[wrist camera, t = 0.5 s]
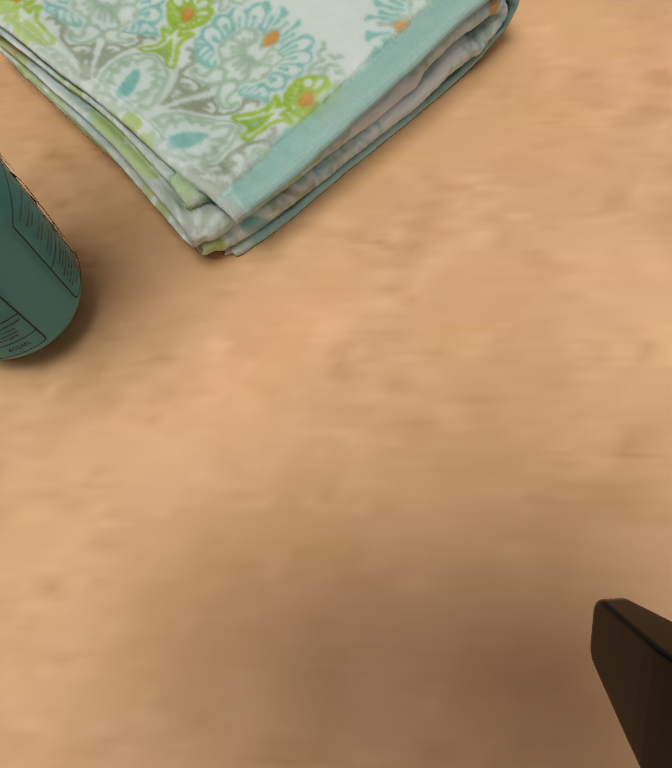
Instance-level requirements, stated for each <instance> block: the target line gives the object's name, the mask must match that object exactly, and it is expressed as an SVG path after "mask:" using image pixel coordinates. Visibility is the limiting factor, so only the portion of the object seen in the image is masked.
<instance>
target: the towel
mask: <svg viewBox="0 0 672 768" xmlns="http://www.w3.org/2000/svg"><path fill="white" fill-rule="evenodd" d="M518 4H519V0H0V52H1V53H2V54H3V55H4V56H5V57H6V58H7V59H8V60H9V61H11V62H12V63H13V64H14V65H15V66H16V67H17V69H18V71H19V72H20V73H21V74H22V75H23V76H24V77H25V78H26V79H28V80H30V81H31V82H32V83H33V85H34V86H35V87H36V88H37V89H39V90H40V91H41V92H42V93H43V94H44V95H45V96H46V97H47V98H48V99H50V100H51V101H52V102H53V103H54V104H55V105H56V106H57V107H58V108H59V109H60V110H61V111H62V112H63V113H64V114H65V115H66V116H67V117H68V118H69V119H70V120H71V121H72V122H73V123H74V124H75V125H76V126H78V127H79V128H80V129H81V130H82V131H83V132H84V133H85V134H86V135H87V136H88V137H89V138H90V139H91V140H92V141H93V142H94V143H95V144H96V145H98V146H99V147H100V148H101V149H102V150H103V151H104V152H105V153H106V154H107V155H108V156H109V157H110V158H111V159H113V160H114V161H115V162H117V163H118V164H119V165H120V166H121V167H122V169H123V170H124V171H125V172H126V173H127V174H128V175H129V177H130V178H131V179H132V180H133V181H134V183H135V184H136V185H137V186H138V187H139V188H140V189H141V190H142V192H143V193H144V194H145V195H146V196H147V198H148V199H149V200H150V201H151V203H152V204H153V205H154V206H155V207H156V208H157V209H158V211H159V212H160V213H161V214H162V215H163V216H164V217H165V219H166V220H167V221H168V222H169V223H170V224H171V226H172V227H173V228H174V229H175V230H176V231H177V232H178V233H179V235H180V236H181V237H182V238H183V240H185V241H186V242H187V243H188V244H189V245H190V246H191V247H197V249H198V251H199V252H200V253H201V254H202V255H207V254H209V253H211V252H214V251H223V250H224V251H225V252H224V255H225V256H226V255H229V254H231V253H232V254H234V255H235V256H239V255H241V254H243V253H245V252H246V251H248V250H249V249H250V248H252V247H253V246H255V245H256V244H258V243H259V242H261V241H262V240H264V239H265V238H267V237H268V236H269V235H271V234H272V233H274V232H275V231H276V230H278V229H279V228H280V227H282V226H283V225H284V224H285V223H287V222H288V221H289V220H291V219H292V218H293V217H294V216H296V215H297V214H298V213H299V212H300V211H302V210H303V209H304V208H305V207H306V206H307V205H308V204H310V203H311V202H312V201H313V200H314V199H315V198H317V197H318V196H319V195H320V194H321V193H323V192H324V191H325V190H326V189H328V188H329V187H330V186H331V185H332V184H333V183H335V182H336V181H337V180H338V179H339V178H340V177H341V176H342V175H343V174H345V173H346V172H347V171H349V170H350V169H351V168H352V167H354V166H355V165H356V164H357V163H359V162H360V161H361V160H363V159H364V158H365V157H366V156H368V155H369V154H370V153H371V152H373V151H374V150H375V149H376V148H377V147H379V146H380V145H381V144H382V143H383V142H385V141H386V140H387V139H388V138H390V137H391V136H392V135H394V134H395V133H396V132H397V131H398V130H400V129H401V128H402V127H404V126H405V125H406V124H407V123H409V122H410V121H411V120H412V119H413V118H414V117H415V116H417V115H418V114H419V113H420V112H421V111H422V110H423V109H425V108H426V107H427V106H428V105H430V104H431V103H432V102H434V101H435V100H436V99H437V98H438V97H440V96H441V95H442V94H443V93H444V92H445V91H446V90H448V89H449V88H450V87H451V86H452V85H453V84H454V83H455V82H456V81H458V80H459V79H460V78H461V77H462V76H463V75H464V74H465V73H466V72H467V71H468V70H469V69H470V68H471V67H472V66H473V65H474V64H475V63H476V62H477V61H478V60H479V59H480V58H481V57H482V56H483V55H484V54H485V52H486V51H487V50H488V49H489V47H490V46H491V45H492V44H493V43H494V42H495V41H496V39H497V38H498V37H499V36H500V35H501V34H502V33H503V32H504V30H505V29H506V27H507V26H508V25H509V23H510V21H511V19H512V17H513V15H514V13H515V11H516V9H517V7H518Z"/></svg>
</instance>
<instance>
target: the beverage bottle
mask: <svg viewBox="0 0 672 768" xmlns="http://www.w3.org/2000/svg"><path fill="white" fill-rule="evenodd" d="M0 154H1V153H0ZM0 156H1V155H0ZM0 159H1V158H0ZM2 160H3V159H1V160H0V360H8V359H14V358H18V357H22V356H25V355H28V354H30V353H33V352H35V351H37V350H39V349H41V348H43V347H44V346H46V345H47V344H49V343H50V342H52V341H53V340H54V339H55V338H56V337H58V336H59V335H60V334H61V333H62V332H63V331H64V329H65V328H66V327H67V325H68V324H69V323H70V321H71V320H72V318H73V316H74V314H75V312H76V310H77V307H78V304H79V301H80V294H81V270H80V275H79V270H78V266H77V263H76V261H75V258H74V256H73V254H74V253H73V254H72V253H71V251H72V250H71V249H70V250H71V251H70V250H69V248H70V247H69V246H68V245H66V244H65V243H66V242H65V241H64V240H62V239H63V238H62V237H61V236H59V235H58V234H59V233H58V232H57V230H59V228H58V227H57V226H56V227H57V228H58V229H57V228H56V229H57V230H56V229H55V228H54V227H53V226H54V225H52V224H51V223H50V222H48V221H49V220H48V219H47V218H45V217H46V216H45V215H44V214H42V213H43V212H42V211H41V210H40V209H38V208H39V207H38V206H37V205H35V204H37V203H38V204H39V202H38V201H37V200H35V199H36V198H35V197H34V196H33V197H34V198H35V199H33V198H31V197H32V196H31V195H30V194H29V193H27V192H26V190H25V189H24V188H23V187H21V186H22V185H21V184H20V183H19V184H20V185H21V186H20V185H19V184H18V182H19V181H18V180H17V179H16V178H15V177H16V176H15V175H14V174H13V173H12V172H11V171H10V170H9V168H8V167H7V166H6V165H5V166H6V167H7V168H8V169H7V168H6V167H5V166H4V164H5V163H4V162H3V161H2ZM1 161H2V162H3V163H4V164H3V163H2V162H1ZM5 162H6V161H5ZM7 164H8V163H7ZM11 168H12V167H11ZM12 169H13V168H12ZM8 170H9V171H10V172H9V171H8ZM17 178H18V177H17ZM18 179H19V178H18ZM19 180H20V179H19ZM17 181H18V182H17ZM23 184H24V183H23ZM24 185H25V184H24ZM25 186H26V185H25ZM22 188H23V189H24V190H25V191H24V190H23V189H22ZM27 189H28V188H27ZM28 190H29V189H28ZM29 191H30V190H29ZM25 192H26V193H27V194H28V195H30V196H31V197H30V196H28V195H27V194H26V193H25ZM30 193H31V192H30ZM31 194H32V193H31ZM32 195H33V194H32ZM29 197H30V198H31V199H33V200H34V201H35V202H34V201H33V200H31V199H30V198H29ZM32 201H33V202H34V203H35V204H34V203H33V202H32ZM36 202H37V203H36ZM39 205H40V204H39ZM36 206H37V207H38V208H37V207H36ZM40 206H41V205H40ZM41 207H42V206H41ZM42 208H43V207H42ZM39 210H40V211H41V212H42V213H41V212H40V211H39ZM43 210H44V209H43ZM44 211H45V210H44ZM45 212H46V211H45ZM46 214H47V213H46ZM43 215H44V216H45V217H44V216H43ZM47 215H48V214H47ZM48 216H49V215H48ZM49 218H50V217H49ZM46 219H47V220H48V221H47V220H46ZM50 219H51V218H50ZM51 220H52V219H51ZM49 223H50V224H51V225H52V226H51V225H50V224H49ZM52 223H54V222H52ZM54 224H55V223H54ZM55 230H56V231H55ZM56 232H57V233H58V234H57V233H56ZM61 235H62V234H61ZM62 236H63V235H62ZM60 237H61V238H62V239H61V238H60ZM64 237H65V236H64ZM66 240H67V239H66ZM63 241H64V242H65V243H64V242H63ZM67 246H68V247H69V248H68V247H67ZM72 248H73V247H72ZM72 252H73V251H72ZM75 254H76V253H75ZM75 254H74V255H75ZM75 256H77V255H75ZM77 259H78V257H77ZM78 262H79V261H78ZM79 266H80V264H79Z"/></svg>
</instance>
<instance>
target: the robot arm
mask: <svg viewBox="0 0 672 768" xmlns="http://www.w3.org/2000/svg"><path fill="white" fill-rule="evenodd" d="M591 655H592V660H593V663H594V665H595V668H596V670H597V672H598V674H599V677H600V679H601V681H602V683H603V686H604V688H605V690H606V692H607V695H608V697H609V699H610V701H611V704H612V706H613V708H614V710H615V713H616V715H617V717H618V719H619V722H620V724H621V726H622V728H623V731H624V733H625V735H626V737H627V740H628V742H629V744H630V746H631V748H632V751H633V753H634V755H635V757H636V759H637V761H638V763H639V765H640V767H641V768H672V622H671V621H669V620H667V619H665V618H663V617H661V616H659V615H657V614H655V613H653V612H651V611H649V610H647V609H645V608H643V607H641V606H639V605H637V604H635V603H633V602H631V601H629V600H627V599H624V598H616V599H601V600H599V601H598V602H597V603H596V604H595V607H594V614H593V624H592V635H591Z"/></svg>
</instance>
